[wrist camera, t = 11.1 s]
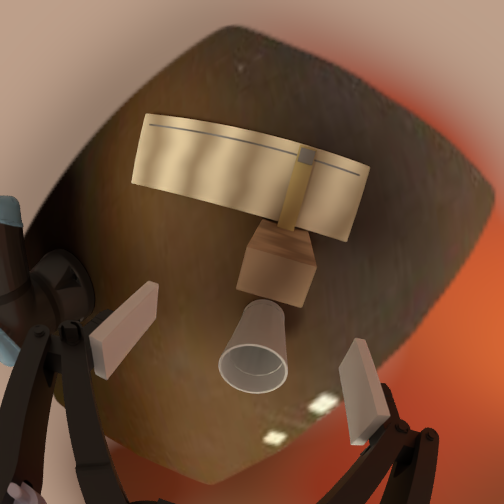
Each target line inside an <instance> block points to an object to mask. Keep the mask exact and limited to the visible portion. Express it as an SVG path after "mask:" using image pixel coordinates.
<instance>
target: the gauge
mask: <svg viewBox="0 0 504 504" xmlns="http://www.w3.org/2000/svg"><path fill="white" fill-rule="evenodd" d="M316 152H317V149H314V148H311V147H307V146H304V145H301V144H300V146H299V150H298V154H297V157H296V161H295V165H294V168H293V172H292V175H291V179H290V182H289V186H288V190H287V193H286V197H285V200H284V204H283V207H282V211H281V214H280V218H279V221H275V220H272V219H268V218H265V217H263V219H262V220H261V222H260V224H259V226H258V228H257V229H256V231H255V233H254V235H253V237H252V238H251V240H250V242H249V244H248V246H247V248H246V252H245V256H244V259H243V263H242V267H241V271H240V275H239V279H238V282H237V286H236V289H238V290H241V291H244V292H248V293H251V294H254V295H258V296H261V297H265V298H268V299H272V300H275V301H279V302H282V303H286V304H289V305H293V306H297V307H300V308H302V306H303V303H304V300H305V298H306V295H307V293H308V290H309V287H310V285H311V282H312V279H313V277H314V274H315V271H316V268H317V265H316V261H315V257H314V253H313V249H312V245H311V241H310V237H309V233H308V230H306V229H302V228H299V227H296V226H295V224H296V221H297V218H298V215H299V211H300V208H301V204H302V201H303V198H304V194H305V191H306V187H307V184H308V181H309V177H310V174H311V170H312V166H313V163H314V159H315V156H316Z"/></svg>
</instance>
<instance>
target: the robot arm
mask: <svg viewBox="0 0 504 504" xmlns="http://www.w3.org/2000/svg"><path fill="white" fill-rule="evenodd" d="M158 288H159V284H157V283H154V282H151V281H148V282H146V283H145V284H144V285H143V286H142V287H141V288H140V289H139V290H137V291H136V292H135V293H134V294H133V295H132V296H131V297H130V298H129V299H127V300H126V301H125V302H124V303H123V304H122V305H121V306H120V307H119V308H118V309H117V310H116V311H111V310H109V309H107V310H104V311H102V312H100V313H99V314H98V315H96V316H95V317H94V318H93V319H92V320H91V321H90V322H88V323H87V324H86V325H85V326H84V327H82V325H81V324H80V323H79V322H81V321H83V320H84V319H86V318H87V317H88V316H89V315H90V314H91V313H92V311H93V308H94V302H95V298H94V290H93V286H92V283H91V280H90V278H89V276H88V274H87V272H86V270H85V268H84V267H83V265H82V264H81V263H80V261H79V260H78V259H77V258H76V257H75V256H74V255H73V254H71V253H70V252H68V251H66V250H64V249H55V250H53V251H51V252H48V253H47V254H45V255H44V256H43V257H42V259H41V260H40V261H39V262H38V263H37V265H36V266H35V267H34V268H33V269H32V270H31V271H30V272H29V268H28V263H27V257H26V251H25V244H24V236H23V223H22V220H21V213H20V205H19V202H18V200H17V199H16V198H15V197H13V196H0V362H1V363H3V364H4V365H6V366H10V367H12V366H14V367H13V370H12V373H11V376H10V378H9V381H8V384H7V387H6V390H5V394H4V397H3V400H2V404H1V407H0V504H47V503H46V502H45V500H44V498H43V497H42V496H41V490H42V483H43V466H44V452H45V442H46V433H47V426H48V419H49V413H50V407H51V402H52V397H53V392H54V387H55V383H56V378H57V374H58V373H61V374H62V381H63V392H64V401H65V409H66V416H67V422H68V428H69V433H70V438H71V444H72V448H73V453H74V457H75V461H76V468H75V469H76V474H77V478H78V482H79V485H80V488H81V491H82V494H83V497H84V500H85V503H86V504H174V503H171V502H168V501H165V500H163V499H160V498H159V500H158V502H156V501H135V502H131V503H130V502H129V500H128V498H127V496H126V494H125V491H124V490H123V487H122V485H121V482H120V480H119V477H118V475H117V472H116V470H115V466H114V464H113V461H112V458H111V455H110V452H109V449H108V445H107V442H106V439H105V435H104V432H103V428H102V425H101V421H100V417H99V413H98V408H97V404H96V399H95V395H94V390H93V385H92V379H91V374H90V371H91V370H92V369H93V367H94V370H95V374H96V375H98V376H100V377H102V378H104V379H106V380H107V379H108V378H109V377H110V376H111V374H112V373H113V372H114V370H115V369H116V368H117V367H118V365H119V364H120V363H121V361H122V360H123V359H124V358H125V356H126V355H127V354H128V353H129V351H130V350H131V349H132V348H133V346H134V345H135V344H136V343H137V341H138V340H139V339H140V338H141V336H142V335H143V334H144V333H145V331H146V330H147V329H148V328H149V326H150V325H151V324H152V323H153V321H154V320H155V319H156V311H157V299H158ZM57 330H59V335H60V337H59V336H55V335H52V334H53V333H54V332H55V331H57ZM339 373H340V379H341V384H342V390H343V396H344V402H345V408H346V414H347V420H348V427H349V434H350V441H351V445H364V444H365V443H366V441H367V440H369V443H370V445H369V446H368V447H367V448H366V449H365V450H364V451H363V452H362V453H361V454H360V455H361V456H360V457H359V458H358V459H357V461H356V462H355V463H354V464H353V465H352V466H351V468H350V469H349V470H348V471H347V472H346V473H345V475H344V476H343V477H342V478H341V479H340V480H339V481H338V482H337V483H336V484H335V485H334V487H333V488H332V489H331V490H330V491H329V492H328V493H327V494H326V495H325V496H324V497H323V498H322V499H321V500H320V501H319V502H317V504H365V503H366V502H367V500H368V499H369V498H370V496H371V495H372V494H373V492H374V491H375V489H376V488H377V487H378V485H379V484H380V482H381V481H382V479H383V478H384V476H385V475H386V473H387V472H388V470H389V469H390V467H391V466H392V464H393V466H392V470H391V473H390V476H389V479H388V482H387V485H386V488H385V491H384V494H383V496H382V499H381V502H380V504H430V499H431V494H432V489H433V484H434V477H435V472H436V465H437V456H438V446H439V435H438V434H437V432H436V431H435V430H434V429H432V428H425V429H423V430H422V431H421V432H417V431H413V430H410V427H409V425H408V424H407V423H406V422H405V421H404V420H401V419H400V417H399V414H398V411H397V408H396V405H395V402H394V399H393V397H392V393H391V390H390V389H389V387H388V386H387V385H386V384H385V383H380V381H379V378H378V375H377V372H376V369H375V366H374V363H373V360H372V357H371V355H370V352H369V349H368V346H367V344H366V341H365V340H364V339H359V338H355V339H354V341H353V343H352V345H351V347H350V348H349V350H348V352H347V354H346V356H345V358H344V359H343V361H342V363H341V365H340V366H339Z"/></svg>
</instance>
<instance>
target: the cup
mask: <svg viewBox="0 0 504 504" xmlns="http://www.w3.org/2000/svg"><path fill="white" fill-rule="evenodd" d="M284 321H285V316H284V312H283V310H282V309H281V307H280V306H279V305H278V304H276V303H275V302H273V301H270V300H265V299H260V300H255V301H253V302H251V303H249V304H248V305H247V306H246V308H245V309H244V312H243V315H242V317H241V319H240V321H239V323H238V325H237V327H236V329H235V331H234V333H233V335H232V337H231V339H230V341H229V342H228V344H227V346H226V348H225V350H224V351H223V353H222V355H221V357H220V359H219V364H218V366H219V371H220V374H221V376H222V377H223V379H224V380H225V381H226V382H227V383H228V384H230V385H231V386H232V387H234V388H236V389H238V390H241V391H244V392H248V393H266V392H270V391H273V390H275V389H277V388H278V387H280V386H281V385H282V384H283V383H284V382H285V380H286V378H287V375H288V366H287V354H286V340H285V325H284Z"/></svg>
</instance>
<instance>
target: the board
mask: <svg viewBox="0 0 504 504" xmlns="http://www.w3.org/2000/svg"><path fill="white" fill-rule="evenodd" d="M300 144H301V143H297V142H294V141H290V140H287V139H283V138H279V137H275V136H271V135H267V134H263V133H259V132H255V131H250V130H246V129H241V128H237V127H232V126H227V125H222V124H216V123H211V122H205V121H199V120H193V119H186V118H179V117H172V116H164V115H155V114H146V115H145V119H144V123H143V127H142V131H141V136H140V140H139V145H138V150H137V155H136V160H135V165H134V170H133V176H132V182H131V183H133V184H138V185H142V186H146V187H150V188H155V189H159V190H163V191H167V192H171V193H175V194H179V195H183V196H187V197H191V198H195V199H199V200H203V201H206V202H210V203H214V204H218V205H222V206H225V207H229V208H233V209H236V210H240V211H244V212H247V213H251V214H254V215H258V216H261V217H265V218H268V219H272V220H275V221H279V218H280V214H281V211H282V207H283V204H284V200H285V197H286V193H287V190H288V186H289V182H290V179H291V175H292V172H293V168H294V165H295V161H296V157H297V154H298V150H299V146H300ZM301 145H304V144H301ZM304 146H307V147H311V146H308V145H304ZM311 148H314V147H311ZM314 149H317V148H314ZM369 170H370V167H369V166H367V165H364V164H361V163H359V162H356V161H353V160H350V159H348V158H345V157H342V156H339V155H336V154H333V153H330V152H327V151H324V150H321V149H317V152H316V156H315V159H314V163H313V166H312V170H311V174H310V177H309V181H308V184H307V187H306V191H305V194H304V198H303V201H302V204H301V208H300V211H299V215H298V218H297V221H296V224H295V226H296V227H299V228H302V229H306V230H309V231H312V232H316V233H319V234H322V235H325V236H328V237H332V238H335V239H338V240H341V241H344V242H347V239H348V236H349V233H350V231H351V228H352V225H353V222H354V219H355V216H356V213H357V210H358V206H359V203H360V200H361V197H362V194H363V190H364V187H365V184H366V180H367V177H368V173H369Z"/></svg>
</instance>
